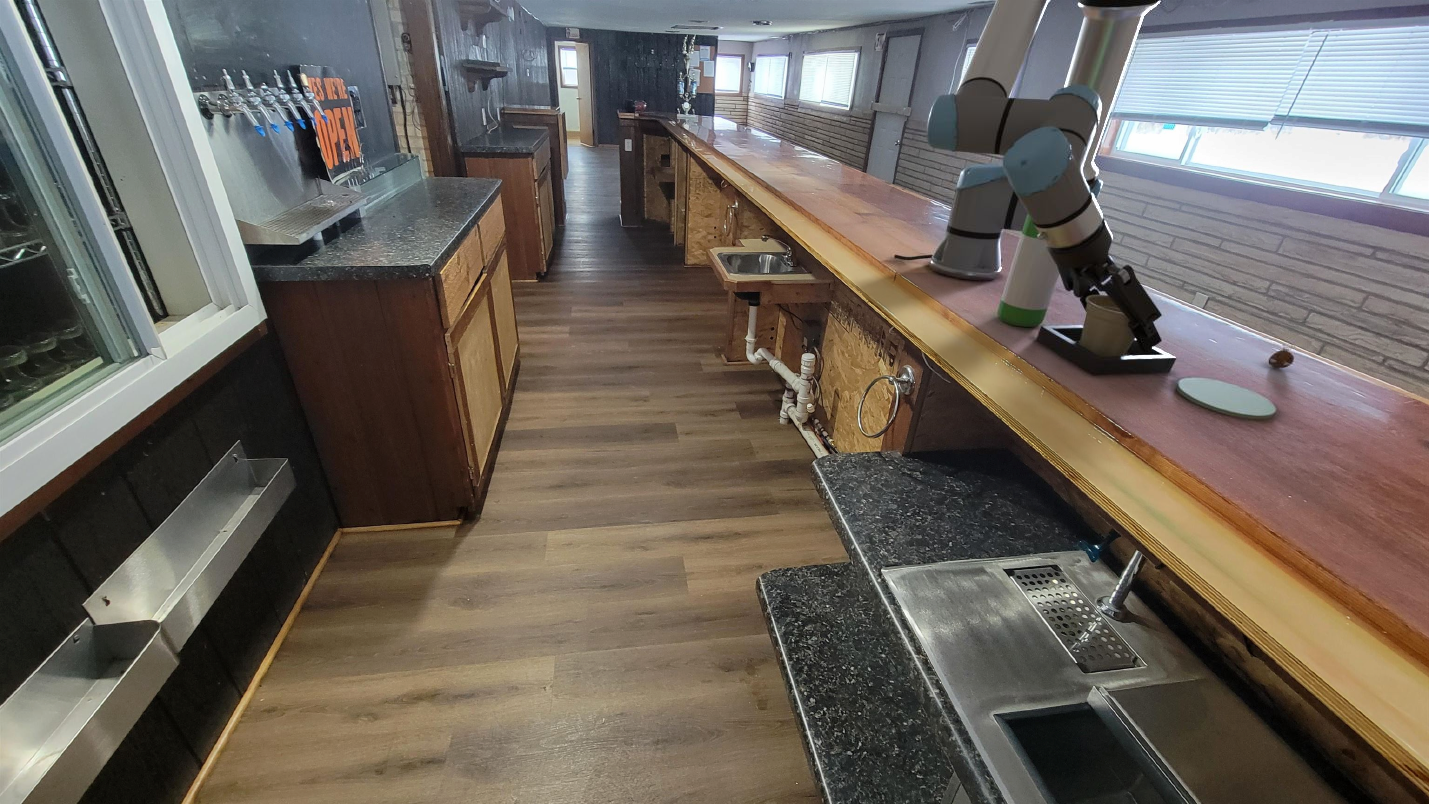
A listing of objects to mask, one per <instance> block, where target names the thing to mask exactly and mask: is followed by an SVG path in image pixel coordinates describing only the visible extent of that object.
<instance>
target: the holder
mask: <svg viewBox="0 0 1429 804" xmlns="http://www.w3.org/2000/svg"><path fill="white" fill-rule="evenodd" d="M1083 326H1084V324H1071V325H1070V324H1067V325H1066V324H1065V325H1041V326H1040V328H1039V331H1038V332H1037V333H1038V334H1037V336H1036V339H1035V340H1036V341H1038V342H1039V343H1041V344H1043V345H1044V346H1046V347H1047V348H1049V349H1050V350H1053V351H1054V352H1055V353H1057V354H1059V355H1060V356H1062V357H1064V358H1065V359H1067V360H1068V361H1070V362H1071V363H1073V364H1075V365H1076V366H1077V367H1079V368H1081V369H1083V370H1084V371H1086V372H1088V373H1089V374H1091V375H1092V376H1106V375H1129V374H1130V375H1131V374H1159V373H1161V374H1162V373H1170V372H1171V371H1172V368H1173V366H1174V364H1175V363H1176V360H1177V357H1176V356H1174V355H1172V354H1170V353H1169V352H1166V351H1164V350H1163V349H1161V348H1158V347H1156V346H1154V347H1153V348H1151V349H1150V350H1149V351H1147V352H1144V351H1142V350H1141V348H1140V346H1139V344H1138V342H1137V340H1136V338H1135V340H1134V341H1133V343H1132V344H1131V346H1130V347H1129V349H1128V350H1127V352H1126V353H1125V354H1128V355H1124V356H1109V357H1100V356H1098V355H1097V354H1095V353H1093V352H1091V351H1090V350H1088V349H1086V348H1084V347H1083V346H1081V345H1079V342H1080V339H1081V335H1082V331H1083ZM1077 342H1078V343H1077Z"/></svg>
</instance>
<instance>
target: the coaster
mask: <svg viewBox="0 0 1429 804" xmlns="http://www.w3.org/2000/svg"><path fill="white" fill-rule="evenodd" d="M1175 387H1176V391H1177V392H1178V393H1179V394H1180V395H1181V396H1182V397H1184V399H1187V400H1189V401H1190V402H1192V403H1193V404H1196V405H1198V406H1200V407H1202V408H1206V409H1208V410H1210V411H1214V412H1217V413H1219V414H1223V415H1227V416H1230V417H1235V418H1241V419H1248V420H1267V419H1270V418H1272V417H1274V415H1275V414H1276V412H1277V408H1276V406H1275V404H1274V403H1273V402H1272V401H1271V400H1269V399H1268V398H1266V397H1265V396H1264V395H1261V394H1260V393H1257V392H1255V391H1253V390H1250V389H1248V388H1246V387H1245V388H1244V387H1242V386H1239V385H1238V384H1237V385H1236V384H1234V383H1229V382H1226V381H1223V380H1222V381H1221V380H1218V379H1212V378H1206V377H1184V378H1182V379H1179V381H1178V382H1177V384H1176V386H1175Z"/></svg>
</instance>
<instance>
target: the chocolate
mask: <svg viewBox="0 0 1429 804" xmlns="http://www.w3.org/2000/svg"><path fill="white" fill-rule="evenodd" d="M1281 346H1282V349H1281V350H1279V351H1276V352H1274V353H1273V354H1271V355H1270V356H1269V357H1268V362H1267V363H1268V365H1269V366H1271V367H1274V368H1278V369H1285V368H1288V367H1290V366H1291V365H1293V363H1294V361H1295V358H1294V357H1295V356H1294V354H1292V352H1290V350H1292V349H1293V348H1295V347H1296V346H1297V345H1296V344H1294V345H1293V344H1292V345H1291V344H1286V343H1284V344H1282V345H1281Z"/></svg>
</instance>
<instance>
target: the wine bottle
mask: <svg viewBox="0 0 1429 804" xmlns="http://www.w3.org/2000/svg"><path fill="white" fill-rule="evenodd" d="M1038 234H1039V233H1038V231H1037V229H1036V227H1035V226H1034V224H1033V222H1032V221H1031V218H1030V216H1029V215H1027V217H1026V220H1025V224H1024V227H1023V230H1022V232H1020V235H1019V236H1020V237H1019V240H1018V243H1017V246H1016V249H1015V253H1014V255H1013V259H1012V262H1011V265H1010V269H1009V272H1008V275H1007V278H1006V281H1005V285H1004V288H1003V292H1002V295H1001V297H1000V301H999V305H998V308H997V317H998V318H999V320H1001V321H1003V323H1006V324H1008V325H1010V326H1011V325H1012V326H1014V327H1015V326H1016V327H1021V328H1034V327H1038V326H1039V325H1041V324H1042V323H1043V321H1044V320H1045V317H1046V314H1047V311H1048V308H1049V307H1050V303H1051V300H1052V298H1053V294H1054V292H1055V288H1056V286H1057V283H1058V281H1059V277H1060V273H1059V270H1058V267H1057V265H1056V264H1055V262H1054V260H1053V259H1052V257H1051V255H1050V253H1049V252H1048V250H1047V248H1046V244H1045V243H1044V242H1043V240H1039V239H1038V238H1037V235H1038Z"/></svg>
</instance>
